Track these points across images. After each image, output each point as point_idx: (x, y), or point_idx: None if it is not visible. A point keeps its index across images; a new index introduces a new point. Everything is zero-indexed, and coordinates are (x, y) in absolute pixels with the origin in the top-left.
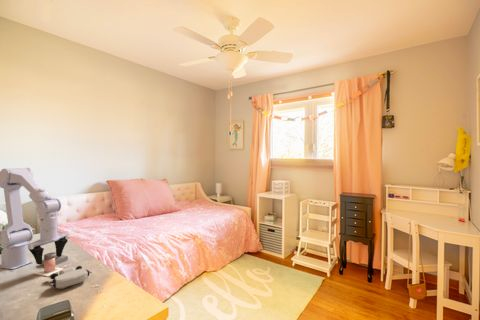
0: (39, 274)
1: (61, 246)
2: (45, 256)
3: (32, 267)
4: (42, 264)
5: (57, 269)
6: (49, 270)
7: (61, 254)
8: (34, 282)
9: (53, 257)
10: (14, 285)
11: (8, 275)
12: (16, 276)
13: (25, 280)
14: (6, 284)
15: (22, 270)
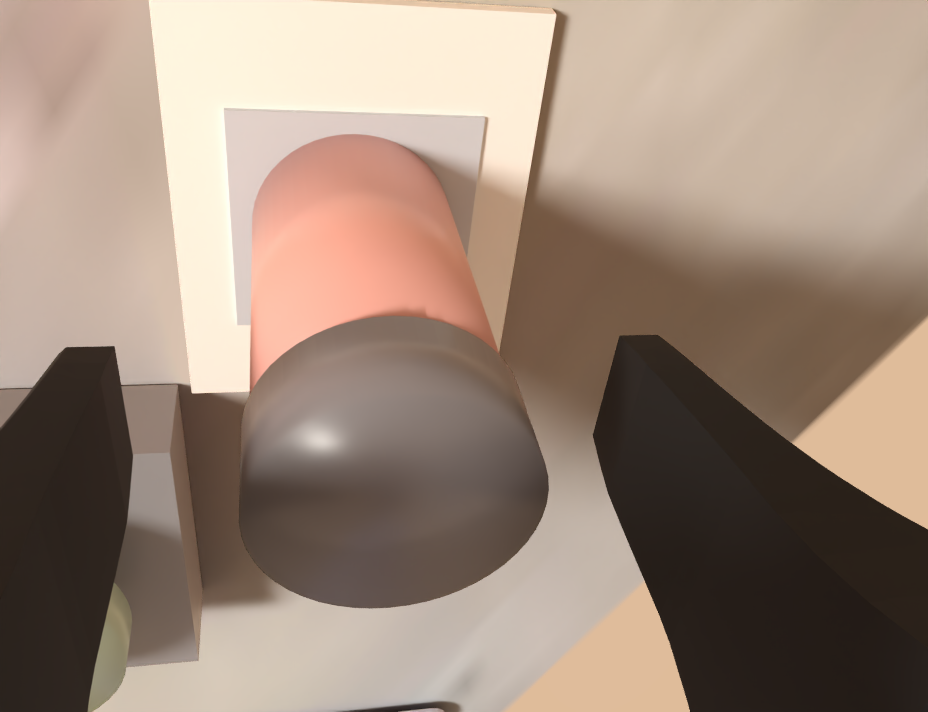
0: (511, 269)
1: (6, 597)
2: (547, 474)
3: (311, 603)
4: (200, 576)
5: (252, 119)
6: (422, 175)
7: (50, 373)
8: (793, 40)
9: (375, 330)
10: (863, 271)
11: (574, 611)
12: (591, 515)
13: (708, 282)
14: (816, 401)
15: (423, 615)
